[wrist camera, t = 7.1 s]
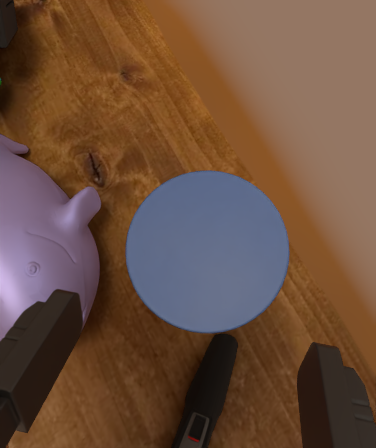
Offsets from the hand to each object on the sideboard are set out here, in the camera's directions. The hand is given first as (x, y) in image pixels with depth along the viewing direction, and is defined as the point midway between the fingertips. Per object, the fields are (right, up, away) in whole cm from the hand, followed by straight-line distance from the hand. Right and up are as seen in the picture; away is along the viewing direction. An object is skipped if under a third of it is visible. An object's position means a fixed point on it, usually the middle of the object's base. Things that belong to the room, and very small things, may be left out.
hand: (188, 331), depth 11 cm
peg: (+1, +1, +11) cm, 11 cm away
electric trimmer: (+1, -15, +21) cm, 25 cm away
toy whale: (-14, +3, +25) cm, 29 cm away
